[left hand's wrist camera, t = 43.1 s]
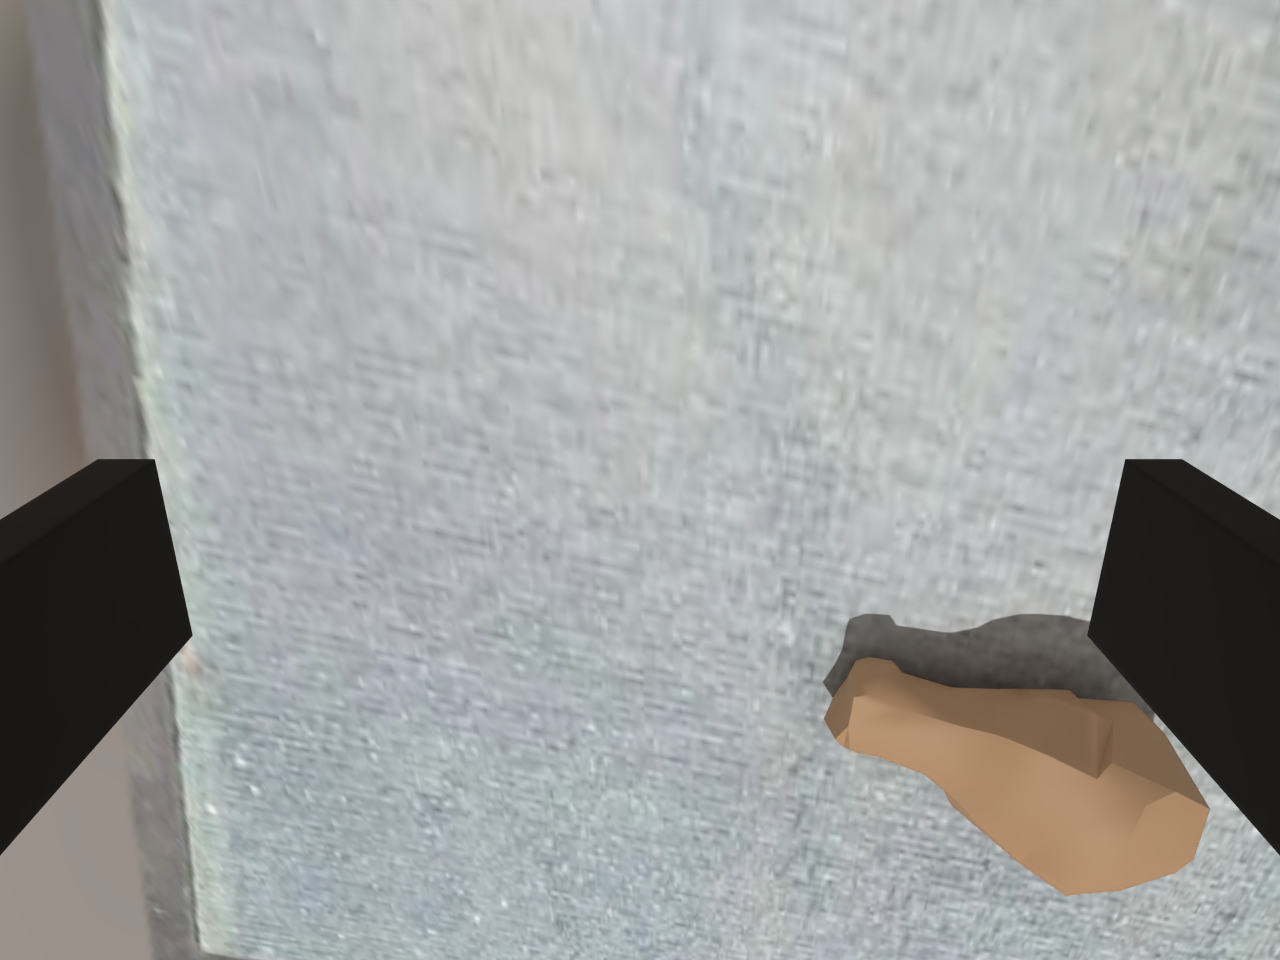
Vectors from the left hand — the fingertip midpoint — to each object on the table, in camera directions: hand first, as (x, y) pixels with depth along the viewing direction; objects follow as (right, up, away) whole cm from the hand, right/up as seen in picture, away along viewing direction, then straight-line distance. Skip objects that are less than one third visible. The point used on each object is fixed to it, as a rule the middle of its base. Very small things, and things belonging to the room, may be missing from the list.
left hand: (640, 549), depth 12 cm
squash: (+20, -13, +40) cm, 47 cm away
